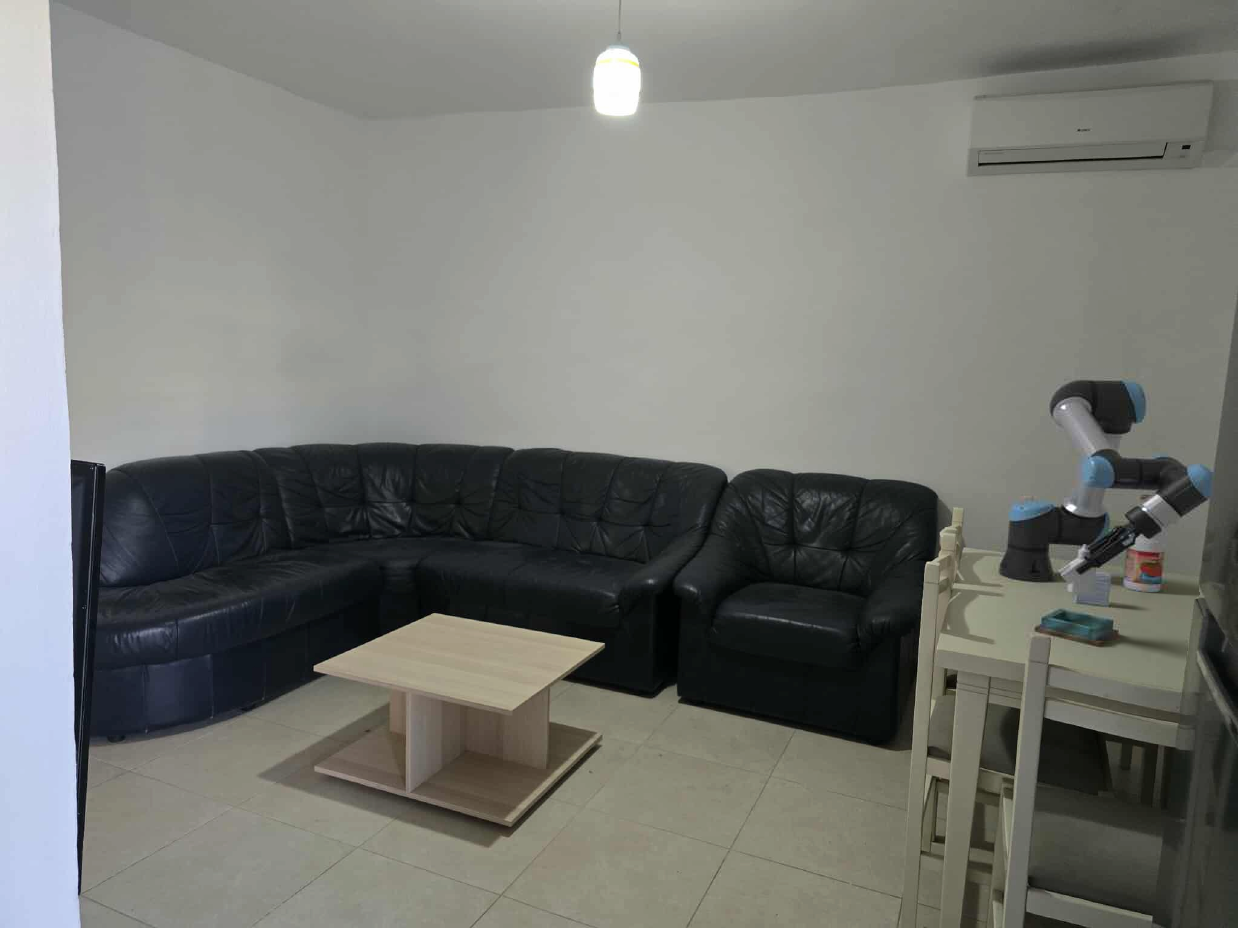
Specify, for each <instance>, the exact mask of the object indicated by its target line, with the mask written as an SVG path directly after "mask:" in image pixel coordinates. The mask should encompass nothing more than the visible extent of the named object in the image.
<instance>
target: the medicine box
mask: <svg viewBox="0 0 1238 928" xmlns="http://www.w3.org/2000/svg"><path fill="white" fill-rule="evenodd" d="M1111 583H1112V576H1111V574H1110V573H1109V572H1104V571H1102V572H1101V571H1096V577H1095V588H1094V594H1092V595H1075V594H1074V601H1075V603H1076V604H1082V605H1083V604H1084V605H1091V606H1099V607H1105V608H1107V607H1109V602H1110V593H1111Z"/></svg>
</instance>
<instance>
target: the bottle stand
mask: <svg viewBox="0 0 1238 928" xmlns="http://www.w3.org/2000/svg"><path fill="white" fill-rule="evenodd" d="M1040 622H1041V623H1040V624H1038V625H1035V627H1034V632H1036V633H1041V634H1044V633H1045V635H1048V636H1053V637H1058V638H1061V639H1066V640H1069V641H1074V642H1078V643H1082V644H1086V645H1089V646H1094V647H1098V648H1099V647H1100V646H1102V645H1104V644H1105V643H1107V642H1109V641H1110V640H1112V639H1113V638H1115V637H1116V636H1117V637H1118V635H1119V630H1117V629H1114V623H1115V622H1114V619H1110V618H1104V617H1101V616H1096V615H1092V614H1087V613H1082V612H1077V611H1073V610H1069V609H1064V608H1059V609H1057V610H1054V611H1052V612H1050V613H1048V614H1046V615H1044V616H1042V617H1041V621H1040Z"/></svg>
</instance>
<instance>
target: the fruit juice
mask: <svg viewBox="0 0 1238 928" xmlns="http://www.w3.org/2000/svg"><path fill="white" fill-rule="evenodd" d="M1151 495H1152V494H1141V495H1140V501H1141V502H1142V501H1144V500H1145V499H1146V498H1148V497H1149V496H1151ZM1161 529H1162V530H1161V532H1160V533H1158V534H1157V535H1155V536H1154V537H1152V538H1151V539H1147V538H1146V537H1145V536H1144V535H1143V534H1140V535H1139V536H1138V537H1137V538H1136V541H1135V545H1133V546H1131V547H1129V548H1127V549H1126V550H1125V551H1126V552H1125V560H1124V570H1123V578H1122V579H1123V582H1122V584H1123V587H1124V588H1126V589H1128V590H1132V591H1137V592H1141V593H1142V592H1143V593H1158V592H1160V590H1161V586H1162V579H1163V578H1162V577H1163V569H1164V560H1165V558H1164V557H1165V551H1166V542H1165V539H1164V536H1165V534H1166V531H1167V527H1166V528H1164V527H1161Z"/></svg>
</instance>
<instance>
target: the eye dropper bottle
mask: <svg viewBox="0 0 1238 928" xmlns="http://www.w3.org/2000/svg"><path fill="white" fill-rule="evenodd" d="M1087 548H1088V546H1087V545H1085V544H1083V547H1082V546H1081V548H1080V549H1078V551H1077V552H1078V553H1077V554H1078V555H1077V558H1078V559H1076V558H1075V559H1076V560H1075V559H1074V560H1072V561H1071V562H1069V563H1070V568H1072V567H1073V566H1075V565H1076V564H1078V563H1079V562H1080V561H1082V560H1083V559H1084V556H1087V557H1090V551H1089V550H1088V549H1087ZM1096 572H1097V567H1096V568H1093V569H1091V570H1090V571H1089V572H1087V573H1086V574H1084V575H1083V576H1081V577H1080V578H1078V579H1077V580H1076V581H1074V582H1073V583H1071V584H1070V585H1069V584H1068V583H1067V592H1068V593H1069V594H1072V595H1074V596H1075V595H1092V594H1094V588H1095V577H1096Z"/></svg>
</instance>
